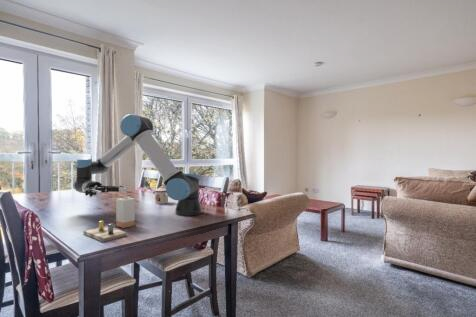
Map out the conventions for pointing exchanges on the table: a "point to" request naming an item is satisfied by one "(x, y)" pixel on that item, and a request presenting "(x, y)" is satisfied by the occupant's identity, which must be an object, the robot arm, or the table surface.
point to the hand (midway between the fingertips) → (114, 192)
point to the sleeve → (125, 212)
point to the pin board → (104, 234)
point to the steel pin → (110, 228)
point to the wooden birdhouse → (161, 196)
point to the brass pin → (101, 225)
